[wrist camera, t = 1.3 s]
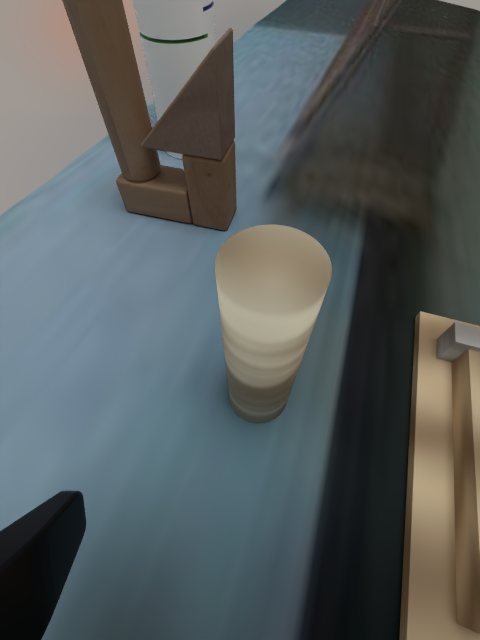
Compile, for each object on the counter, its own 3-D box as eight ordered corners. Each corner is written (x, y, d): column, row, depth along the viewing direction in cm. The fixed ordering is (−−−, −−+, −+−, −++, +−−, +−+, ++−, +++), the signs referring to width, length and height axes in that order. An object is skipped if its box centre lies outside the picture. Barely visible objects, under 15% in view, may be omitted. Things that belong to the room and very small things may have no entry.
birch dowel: (278, 431, 20) (319, 326, 10) (220, 412, 21) (196, 292, 10) (293, 376, 23) (340, 238, 12) (239, 360, 23) (237, 215, 12)
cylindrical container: (231, 135, 40) (218, -293, 19) (204, 165, 37) (152, -318, 16) (182, 124, 42) (120, -282, 21) (152, 151, 38) (41, -302, 17)
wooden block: (226, 233, 31) (210, -53, 15) (126, 213, 32) (22, -61, 17) (237, 209, 32) (232, -66, 17) (142, 191, 34) (61, -73, 19)
